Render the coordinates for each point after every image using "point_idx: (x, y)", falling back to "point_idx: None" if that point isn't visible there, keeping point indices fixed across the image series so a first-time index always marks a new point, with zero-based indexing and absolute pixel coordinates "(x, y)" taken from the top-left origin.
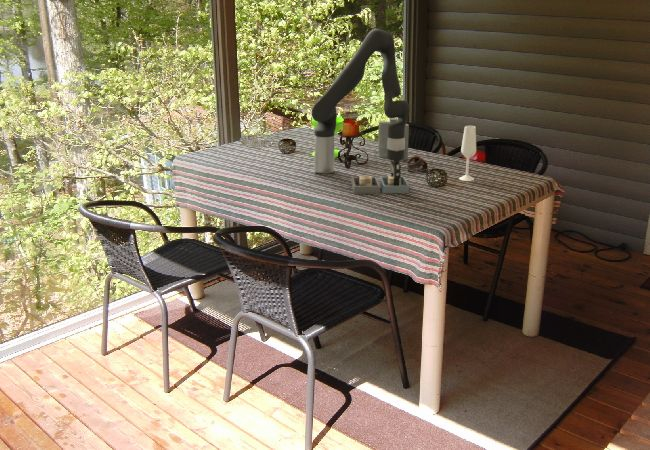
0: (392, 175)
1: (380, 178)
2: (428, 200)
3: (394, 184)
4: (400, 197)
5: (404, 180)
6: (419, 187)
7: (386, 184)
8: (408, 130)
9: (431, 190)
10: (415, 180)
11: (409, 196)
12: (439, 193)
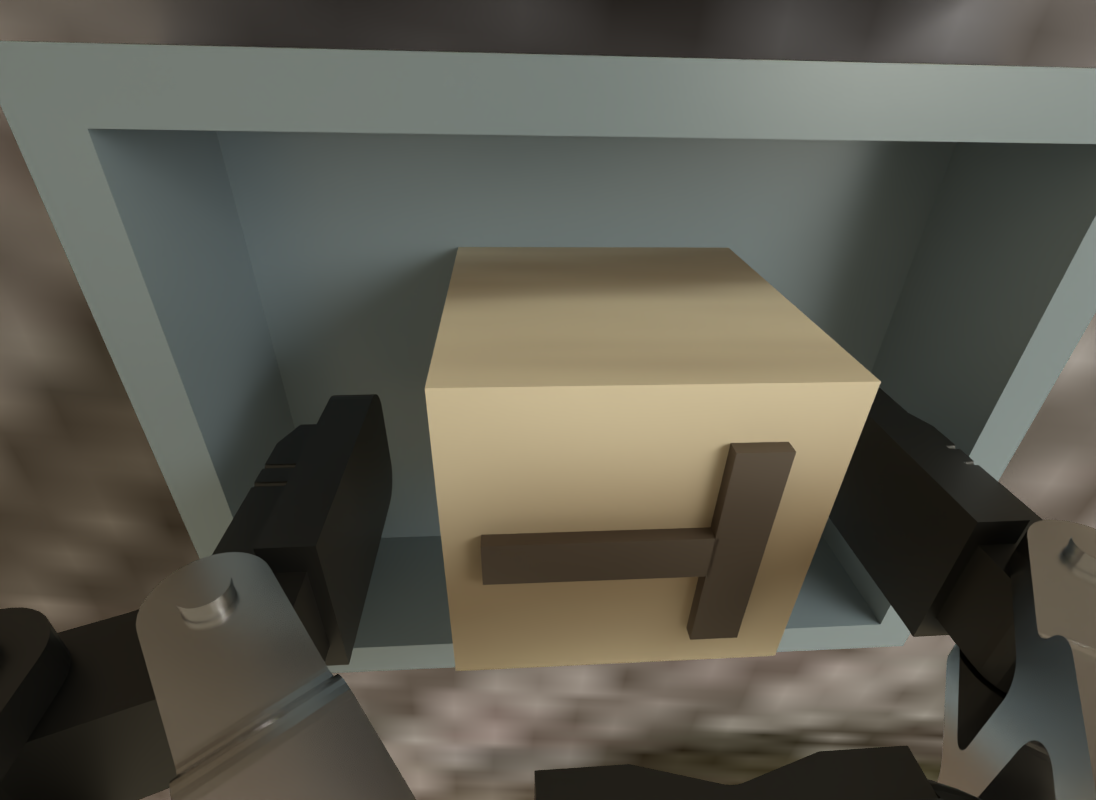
0: (769, 519)
1: (1043, 68)
2: None
3: (320, 434)
4: (62, 409)
5: None
6: (632, 664)
7: (874, 238)
8: None
9: (497, 744)
10: (938, 648)
11: (178, 540)
12: None
